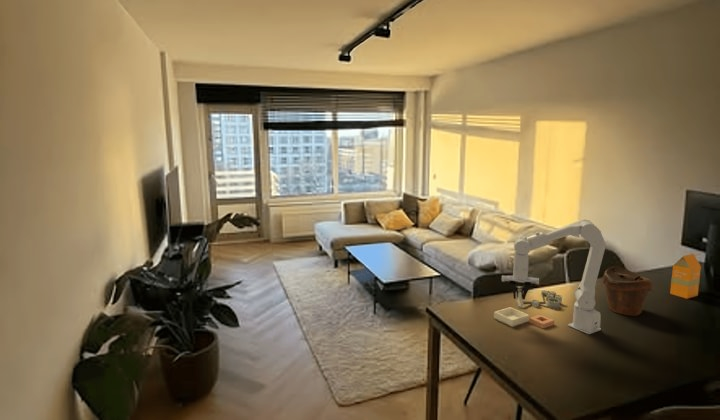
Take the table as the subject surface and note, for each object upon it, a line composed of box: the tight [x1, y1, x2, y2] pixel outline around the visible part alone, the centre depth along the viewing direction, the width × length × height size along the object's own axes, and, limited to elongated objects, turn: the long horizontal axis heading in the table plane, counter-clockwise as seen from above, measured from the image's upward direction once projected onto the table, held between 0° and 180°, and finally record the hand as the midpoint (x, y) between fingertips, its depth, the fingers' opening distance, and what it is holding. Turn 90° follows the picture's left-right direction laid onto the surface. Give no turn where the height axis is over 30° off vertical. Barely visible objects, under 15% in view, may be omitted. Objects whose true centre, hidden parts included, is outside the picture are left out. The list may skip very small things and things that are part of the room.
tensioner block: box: [528, 314, 556, 329], centre depth 178 cm, size 7×7×2 cm
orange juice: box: [669, 253, 702, 300], centre depth 205 cm, size 8×9×20 cm
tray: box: [493, 306, 530, 328], centre depth 182 cm, size 10×10×3 cm
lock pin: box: [516, 285, 524, 307], centre depth 179 cm, size 3×3×8 cm
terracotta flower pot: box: [601, 266, 655, 316], centre depth 188 cm, size 18×20×18 cm
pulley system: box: [515, 289, 563, 310], centre depth 199 cm, size 27×5×15 cm
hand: (519, 298), depth 180 cm, fingers closed on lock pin, 3 cm apart
